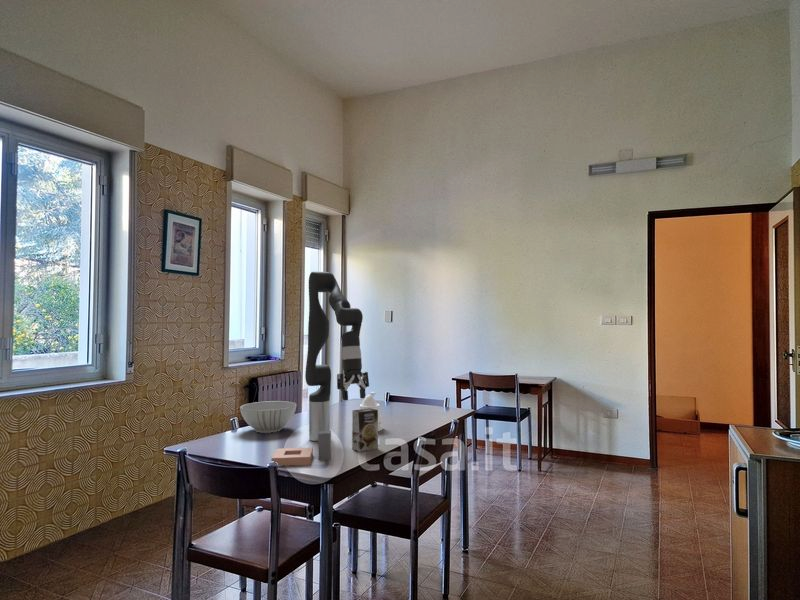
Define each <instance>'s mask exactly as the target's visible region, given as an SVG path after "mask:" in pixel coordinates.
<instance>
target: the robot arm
mask: <svg viewBox="0 0 800 600" xmlns="http://www.w3.org/2000/svg"><path fill="white" fill-rule="evenodd" d="M319 293H329V296H328V303H329V305H330V308H331V309H332V311H334V316H335V320H336V322H337V324H338V325H340V326H343V327H350V326H351V329H350V330H348V331H344V332H343V333H342V334H341V346H342V348H341V357H342V359H341V360H342V361H341V362H342V370H343V373H337V375H336V382H337V383H336V384H337V385H336V389H337V390H340V391H341V395H342V397H341V398H342V399H343V401H344V402H346V401H349V390H348V389H349V386H351V385H355V384H356V386H358V388H359V398H360V400H361V399H363V400H364V398H365V397H366V396H367V394H366V389H367V388H369V387H370V382H369V381H370V380H369V372H368V371H362V369H363V367H362V365H363V363H362V352H361V351H362V350H361V341H360V333H361V328H362V323H363V317H364V315H363V312H362V310H360V308H358V307H357V308H356V307H355V308H353V307H351V304H350V302H349V300H348V299H347V298H346V297H345V296H344V294H343V293H342V291H341V288H340V286H339V284H338V281H337V279H336V277H335V276H334V274H333V273H332V272H328V271H311V272H310V274H309V277H308V303H309V304H308V305H309V306H308V307H309V308H308V310H309V311H308V322H307V323H308V324H307V354H306V355H307V356H306V363H305V377H304V378H305V383H306V385H307V386H309V387H317V386H319V388H318V389H317V390H315V391H314V392H312V393H310V394H309V395H308V407H309V408H308V412H309V413H308V417H309V418H308V421H309V422H308V423H309V424H308V425H309V426H308V431H309V433H308V439H309V441H313V442H318V433H319V431H331V393H332V392H331V388H332V386H331V384H332V371H331V367H330V366H329V365H328V364H317V361H318V360H317V359H318V356H319V354H320V352H321V351H322V349H323V347H324V346H325V344H326V343H327V341H328V339H329V334H330V322H329V321H330V320H329V319H328V316H327V314H326V313H325V310H323V307H322V305H321V303H320V300H319V299H320V298H319V297H320V296H319Z"/></svg>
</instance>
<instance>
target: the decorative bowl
mask: <svg viewBox="0 0 800 600" xmlns="http://www.w3.org/2000/svg"><path fill="white" fill-rule="evenodd" d="M296 409H297V403H296V402H293V401H285V400H283V401H282V400H270V401H267V400H266V401H258V402H257V401H255V402H251V403H250V402H249V403H246V404H242V405H241V406H239V411H240V414H241V416H242V418H243V420H244V421H245V422H246V424H247V425H248V426H249V427H251V428H252V429H254V430H255V432H256V433H258V432H260V433H259V434H271V432H273V433H278V432H280V430H281V431H282V429H283V427H285V426H286V425H287V424H288V423H289V422H290V421H291V420H292V419H293V417H294V414H295V412H296ZM277 431H278V432H277Z"/></svg>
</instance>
